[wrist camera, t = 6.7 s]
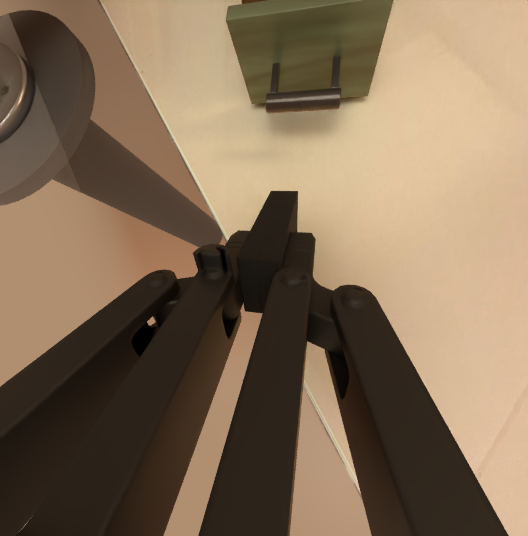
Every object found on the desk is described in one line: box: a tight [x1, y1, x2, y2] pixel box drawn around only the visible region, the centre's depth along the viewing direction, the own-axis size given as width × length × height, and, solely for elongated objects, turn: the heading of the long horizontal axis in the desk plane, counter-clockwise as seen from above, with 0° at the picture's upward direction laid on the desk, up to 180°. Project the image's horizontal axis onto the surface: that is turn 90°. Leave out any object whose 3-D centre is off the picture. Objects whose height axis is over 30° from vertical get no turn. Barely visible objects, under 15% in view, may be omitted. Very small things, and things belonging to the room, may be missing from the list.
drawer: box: [226, 0, 393, 113], centre depth 21 cm, size 18×11×8 cm, turn 174°
